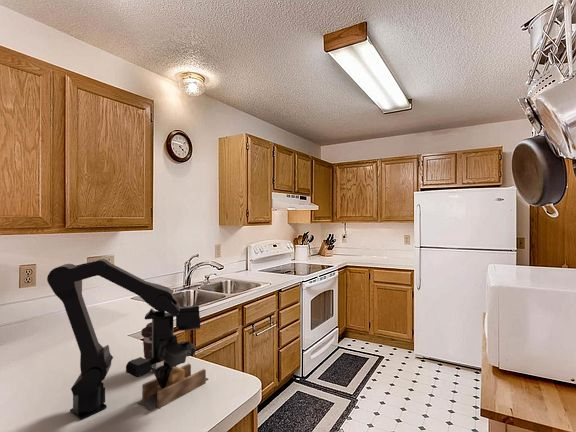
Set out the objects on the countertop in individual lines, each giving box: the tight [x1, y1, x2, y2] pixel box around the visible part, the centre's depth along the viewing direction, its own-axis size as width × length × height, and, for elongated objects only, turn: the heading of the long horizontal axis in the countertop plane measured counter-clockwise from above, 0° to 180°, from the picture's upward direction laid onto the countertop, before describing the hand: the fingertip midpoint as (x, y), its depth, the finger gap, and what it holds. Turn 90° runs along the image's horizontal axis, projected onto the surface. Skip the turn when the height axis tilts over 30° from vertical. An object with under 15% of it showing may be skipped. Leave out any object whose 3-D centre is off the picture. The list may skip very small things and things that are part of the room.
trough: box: [137, 363, 209, 411], centre depth 95 cm, size 20×8×4 cm, turn 146°
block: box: [166, 365, 185, 387], centre depth 95 cm, size 4×4×4 cm
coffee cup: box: [141, 321, 153, 373], centre depth 110 cm, size 10×10×15 cm
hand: (162, 387), depth 91 cm, fingers closed
